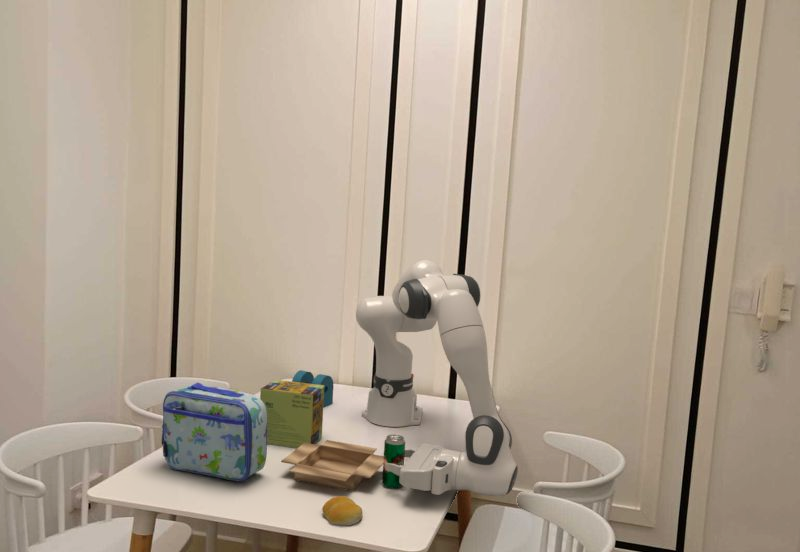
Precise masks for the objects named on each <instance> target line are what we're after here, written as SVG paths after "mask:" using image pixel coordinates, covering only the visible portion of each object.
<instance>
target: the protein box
mask: <svg viewBox="0 0 800 552" xmlns="http://www.w3.org/2000/svg"><path fill="white" fill-rule="evenodd" d="M259 399H261V400H262V401H263V403H264V405H265V407H266V411H267V445H272V446H279V447H288V448H292V447H293V448H292V449H297V448H298V447H300V446H301V445H302V444H304V443H310V444H315V445H317V444H318V442H319V441H320V440H321V439H322V438H323V421H324V419H323V418H324V416H323V415H324V408H323V402H324V385H316V384H308V383H300V382H292V381H290V380H280V379H274V380H272V381H271V382H269V383H268V384H266V385H264V386H263V387H262V388H260V397H259Z"/></svg>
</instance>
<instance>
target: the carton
mask: <svg viewBox="0 0 800 552" xmlns="http://www.w3.org/2000/svg"><path fill="white" fill-rule="evenodd" d="M377 450H378V447H377V448H376V447H371V446H366V445H360V444H353V443H347V442H341V441H335V440H328V439H326V440H325V441H324V442H322V444H310V443H304V444H302V445H301V446H300V447H298V448H295V449H294V450H293V451H292V452H290V453H289V454H288V455H287V456H285V457H284V458H283V459H282V460H280V462H281V463H284V464H290V465H294V467H292V468H291V469H290V470H289V471H290V473H294V481H297V482H303V483H307V484H313V485H317V486H323V487H329V488H334V489H338V490H344V491H350V492H353V491H354V490H356V488H357V487H358V486H359V485H360V484H361V483H362V482H363V480H364V479H365V478H366V479H371V478H372V477H373V476H374V475H375V474H376V473H377V471H378V470H379V469H380V468H381V467H383V459H384V455H378V454H374V453H375V452H377Z"/></svg>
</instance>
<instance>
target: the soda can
mask: <svg viewBox="0 0 800 552" xmlns="http://www.w3.org/2000/svg"><path fill="white" fill-rule="evenodd" d="M405 449H406V440H405V437H404V436H403V435H400V434H388V435H387V436H386V438H385V440H384V445H383V456H384V459H383V464H382V474H381V476H382V478H381V479H382V480H381V483H382V485H383V486H384V487H385V488H389V489H397V488H400V487H401V486H403V485H402V484H400V483H399V476H398V475H396V474H394V473H393V472H390V471H386V470H385V465H386V464H387V462H394V464H396V465H398V466H400V465H405V458H406V457H405Z"/></svg>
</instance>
